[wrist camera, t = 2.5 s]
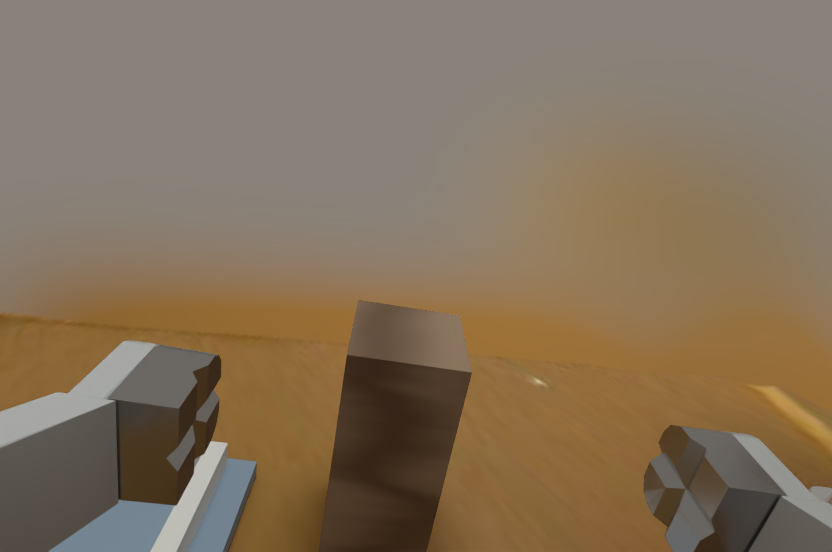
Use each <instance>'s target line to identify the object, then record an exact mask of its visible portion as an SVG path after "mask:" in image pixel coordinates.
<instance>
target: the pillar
mask: <svg viewBox="0 0 832 552" xmlns="http://www.w3.org/2000/svg"><path fill="white" fill-rule="evenodd" d="M471 374H472V371H471V366H470V361H469V357H468V352H467V348H466V343H465V338H464V333H463V329H462V323H461V319H460V316H459V315H453V314H447V313H440V312H433V311H427V310H419V309H413V308H407V307H400V306H393V305H387V304H380V303H373V302H367V301H360V300H359V301H358V305H357V309H356V315H355V319H354V324H353V329H352V334H351V338H350V343H349V348H348V353H347V359H346V366H345V373H344V380H343V387H342V393H341V400H340V407H339V414H338V421H337V428H336V435H335V442H334V449H333V456H332V463H331V470H330V477H329V484H328V491H327V498H326V505H325V512H324V519H323V526H322V533H321V540H320V547H319V552H426V551H427V547H428V543H429V539H430V535H431V531H432V527H433V523H434V519H435V515H436V511H437V507H438V503H439V499H440V496H441V492H442V488H443V484H444V480H445V476H446V472H447V468H448V464H449V460H450V456H451V452H452V448H453V444H454V441H455V437H456V433H457V429H458V425H459V421H460V417H461V413H462V409H463V405H464V401H465V397H466V393H467V389H468V386H469V382H470V378H471Z"/></svg>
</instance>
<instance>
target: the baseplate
mask: <svg viewBox="0 0 832 552" xmlns="http://www.w3.org/2000/svg"><path fill="white" fill-rule="evenodd" d="M227 449H228V443H221V442H213V441H211V442H210V444H209V446H208V448H207V450H206V452H205V454H203V455H201V456H200V457H198V458H196V459H195V462H194V474H193V476H192V478H191V480H190V482H189V484H188V486H187V487H186V489H185V491H184V493H183V495H182V497H181V499H180V500H179V502H178V504H177V506H175V505H165V504H155V503H145V502H134V501H124V500H119V502H118V504H117V505H115V506H114V507H112V508H111V509H109V510H108V511H106V512H105V513H103V514H102V515H101V516H99V517H98V518H96V519H95V520H93V521H92V522H90V523H89V524H88V525H86V526H85V527H83V528H82V529H80V530H79V531H77V532H76V533H74V534H73V535H72V536H70V537H69V538H67V539H66V540H64V541H63V542H61V543H60V544H58V545H57V546H56V547H54V548H53V549H51V550H50V551H48V552H228V550H229V547H230V544H231V542H232V539H233V536H234V533H235V531H236V528H237V525H238V523H239V520H240V517H241V514H242V512H243V509H244V506H245V504H246V501H247V498H248V495H249V493H250V490H251V487H252V485H253V482H254V479H255V477H256V467H257V462H255V461H247V460H239V459H231V458H227Z"/></svg>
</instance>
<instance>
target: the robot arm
mask: <svg viewBox="0 0 832 552" xmlns="http://www.w3.org/2000/svg"><path fill="white" fill-rule="evenodd" d="M220 378H221V359H220V357H219V355H216V354H210V353H204V352H199V351H193V350H187V349H181V348H175V347H170V346H164V345H157V344H153V343H146V342H139V341H132V340H129V341H124V342H122V343H121V344H120V345H119V346H118V347H117V348H116V349H114V350H113V351H112V352H111V353H110V354H109V355H108V356H107V357H106V358H105V359H104V360H103V361H102V362H101V363H100V364H98V365H97V366H96V367H95V368H94V369H93V370H92V371H91V372H90V373H89V374H88V375H87V376H86V377H85V378H84V379H83V380H81V381H80V382H79V383H78V384H77V385H76V386H75V387H74V388H73V389H72V390H71V391H70V392H69V393H68V394H66V393H59V392H57V393H54V394H51V395H48V396H45V397H42V398H39V399H36V400H33V401H30V402H27V403H24V404H21V405H18V406H16V407H13V408H10V409H7V410H4V411H1V412H0V552H48V551H50V550H51V549H53V548H54V547H56V546H57V545H58V544H60V543H61V542H63V541H64V540H66V539H67V538H69V537H70V536H72V535H73V534H74V533H76V532H77V531H79V530H80V529H82V528H83V527H85V526H86V525H88V524H89V523H90V522H92V521H93V520H95V519H96V518H98V517H99V516H101V515H102V514H103V513H105V512H106V511H108V510H109V509H111V508H112V507H114V506H115V505H117V504H118V502H119V500H124V501H134V502H145V503H155V504H165V505H175V506H177V504H178V502H179V500H180V499H181V497H182V495H183V493H184V491H185V489H186V487H187V486H188V484H189V482H190V480H191V478H192V476H193V474H194V462H195V459H196V458H198V457H200V456H201V455H203V454H205V452H206V450H207V448H208V446H209V444H210V442H211V439H212V436H213V433H214V430H215V427H216V423H217V417H218V412H219V398H218V396H217V395H216V393H215V392H214V390H213V389H214V388H215V386H216V384H217V383H218V381H219V379H220ZM659 445H660V448H661V451H662V454H660V455H659V456H657V457H656V458H654V459H653V460H651V461H650V463H649V465H648V468H647V470H646V473H645V475H644V494H645V498H646V502H647V504H648V506H649V508H650V510H651V512H652V514H653V515H654V516H655V517H656V518H657V519H659V520H660V521H661V522H662V523H663V524H665V525H666V526H667V529H666V534H665V537H666V539H667V541H668V543H669V544H670V546H671V548H672V550H673V552H832V488H827V487H821V486H813V487H811V488H810V489H809V490H808V489H807V488H806V487H805V486H804V485H803V484H802V483H801V482H800V481H799V480H798V479H797V478H796V477H795V476H794V475H793V474H792V473H791V472H790V471H789V470H788V469H787V468H786V467H785V465H784V464H783V463H782V462H781V461H780V460H779V459H778V458H777V457H776V456H775V455H774V454H773V453H772V452H771V451H770V450H769V449H768V448H767V447H766V446H765V445H764V444H763V443H762V442H761V441H760V440H759V439H758V438H756V437H754V436H751V435H749V434H741V433H732V432H724V431H723V432H721V431H713V430H705V429H698V428H690V427H683V426H675V425H670V426H669V427H668V428H667V429H666V430H665V431H664V432H663V434H662V436H661V439H660V441H659Z"/></svg>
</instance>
